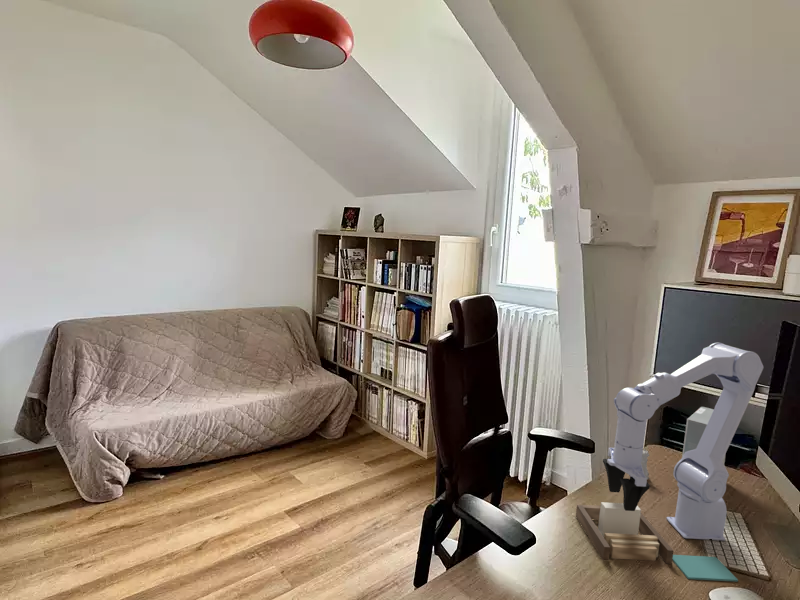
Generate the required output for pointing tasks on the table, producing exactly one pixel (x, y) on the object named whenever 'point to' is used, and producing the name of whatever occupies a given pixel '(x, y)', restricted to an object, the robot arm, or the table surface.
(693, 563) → the teal mat
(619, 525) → the off-white rectangular block
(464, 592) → the table surface
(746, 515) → the table surface
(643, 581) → the table surface
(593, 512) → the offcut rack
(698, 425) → the hard drive box
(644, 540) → the offcut stack
